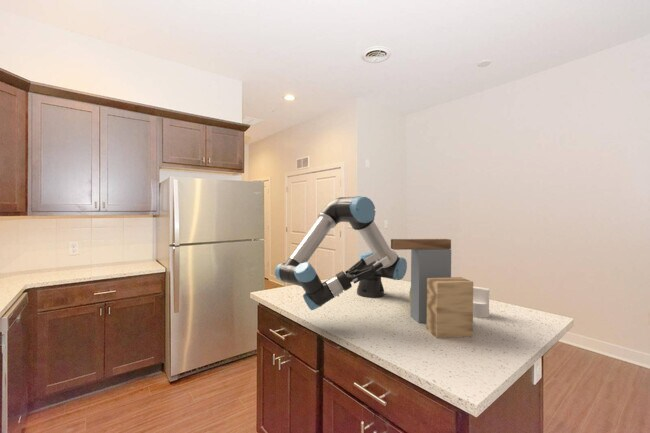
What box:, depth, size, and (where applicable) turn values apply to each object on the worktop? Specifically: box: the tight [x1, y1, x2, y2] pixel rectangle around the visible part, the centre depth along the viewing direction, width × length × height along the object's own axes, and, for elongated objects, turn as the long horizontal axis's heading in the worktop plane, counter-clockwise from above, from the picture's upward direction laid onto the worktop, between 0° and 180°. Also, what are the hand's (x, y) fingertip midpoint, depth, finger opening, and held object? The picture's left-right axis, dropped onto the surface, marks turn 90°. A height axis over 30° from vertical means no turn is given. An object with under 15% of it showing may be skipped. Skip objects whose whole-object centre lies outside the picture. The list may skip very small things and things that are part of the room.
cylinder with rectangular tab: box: [473, 285, 490, 319], centre depth 135 cm, size 9×9×12 cm
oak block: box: [426, 276, 474, 339], centre depth 114 cm, size 8×14×20 cm, turn 98°
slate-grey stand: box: [410, 249, 452, 324], centre depth 129 cm, size 8×14×30 cm, turn 98°
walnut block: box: [390, 238, 452, 251], centre depth 128 cm, size 4×25×4 cm, turn 98°
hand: (383, 256), depth 126 cm, fingers open, 13 cm apart
